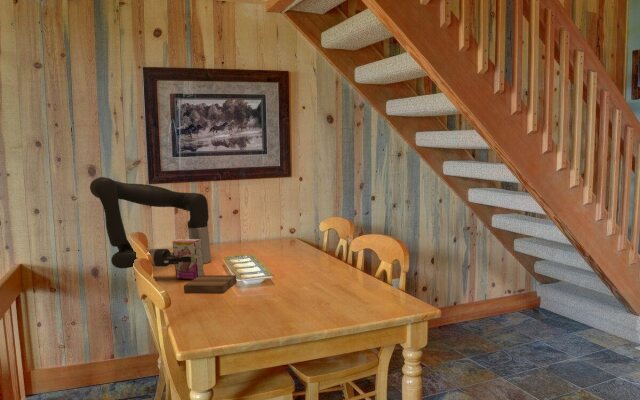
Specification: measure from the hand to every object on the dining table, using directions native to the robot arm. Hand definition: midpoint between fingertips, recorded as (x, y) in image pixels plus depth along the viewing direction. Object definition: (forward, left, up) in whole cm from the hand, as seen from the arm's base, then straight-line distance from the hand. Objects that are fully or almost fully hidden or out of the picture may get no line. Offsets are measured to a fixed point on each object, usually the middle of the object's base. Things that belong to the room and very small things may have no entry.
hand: (193, 257), depth 224 cm
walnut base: (+12, +12, -9) cm, 20 cm away
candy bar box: (0, -3, -9) cm, 9 cm away
